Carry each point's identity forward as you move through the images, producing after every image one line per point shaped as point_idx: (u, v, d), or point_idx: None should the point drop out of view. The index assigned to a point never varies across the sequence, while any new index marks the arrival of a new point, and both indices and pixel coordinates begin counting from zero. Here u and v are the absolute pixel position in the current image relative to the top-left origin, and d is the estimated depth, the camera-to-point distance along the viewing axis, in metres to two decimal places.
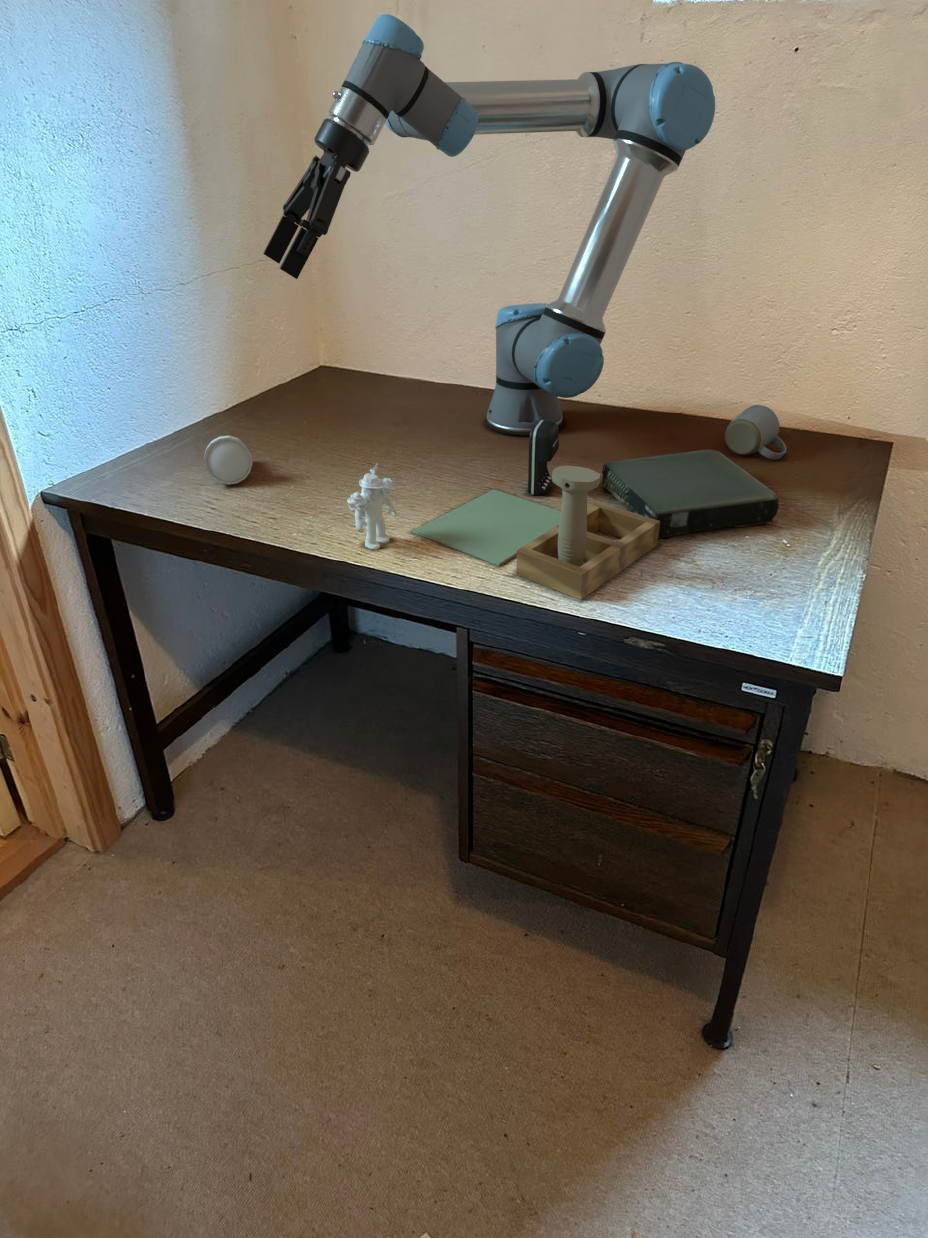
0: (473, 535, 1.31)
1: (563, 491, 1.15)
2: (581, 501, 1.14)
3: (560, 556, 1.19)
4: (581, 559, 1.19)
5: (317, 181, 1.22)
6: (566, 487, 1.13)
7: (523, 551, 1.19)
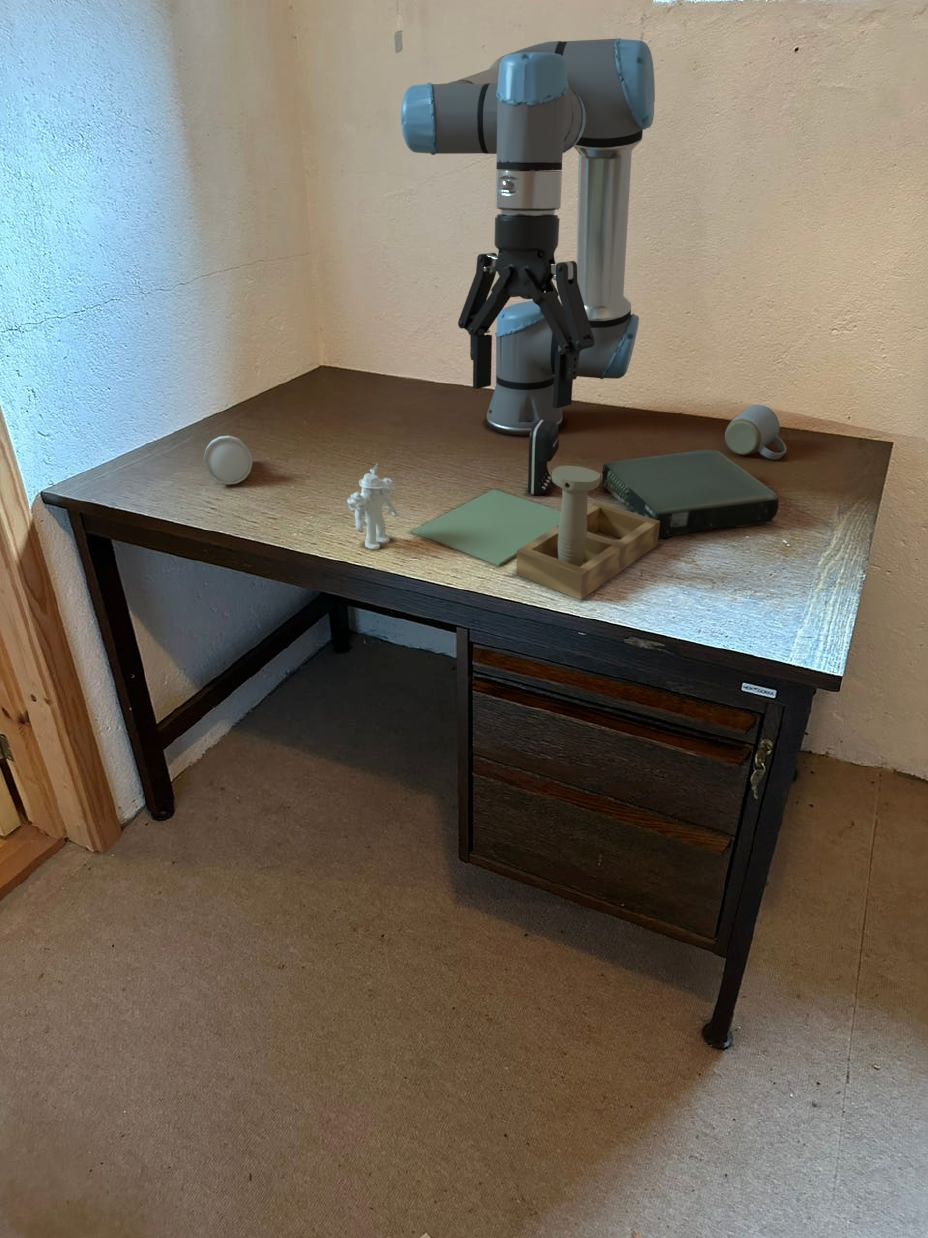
0: (473, 535, 1.31)
1: (563, 491, 1.15)
2: (581, 501, 1.14)
3: (560, 556, 1.19)
4: (581, 559, 1.19)
5: (539, 292, 1.00)
6: (566, 487, 1.13)
7: (523, 551, 1.19)
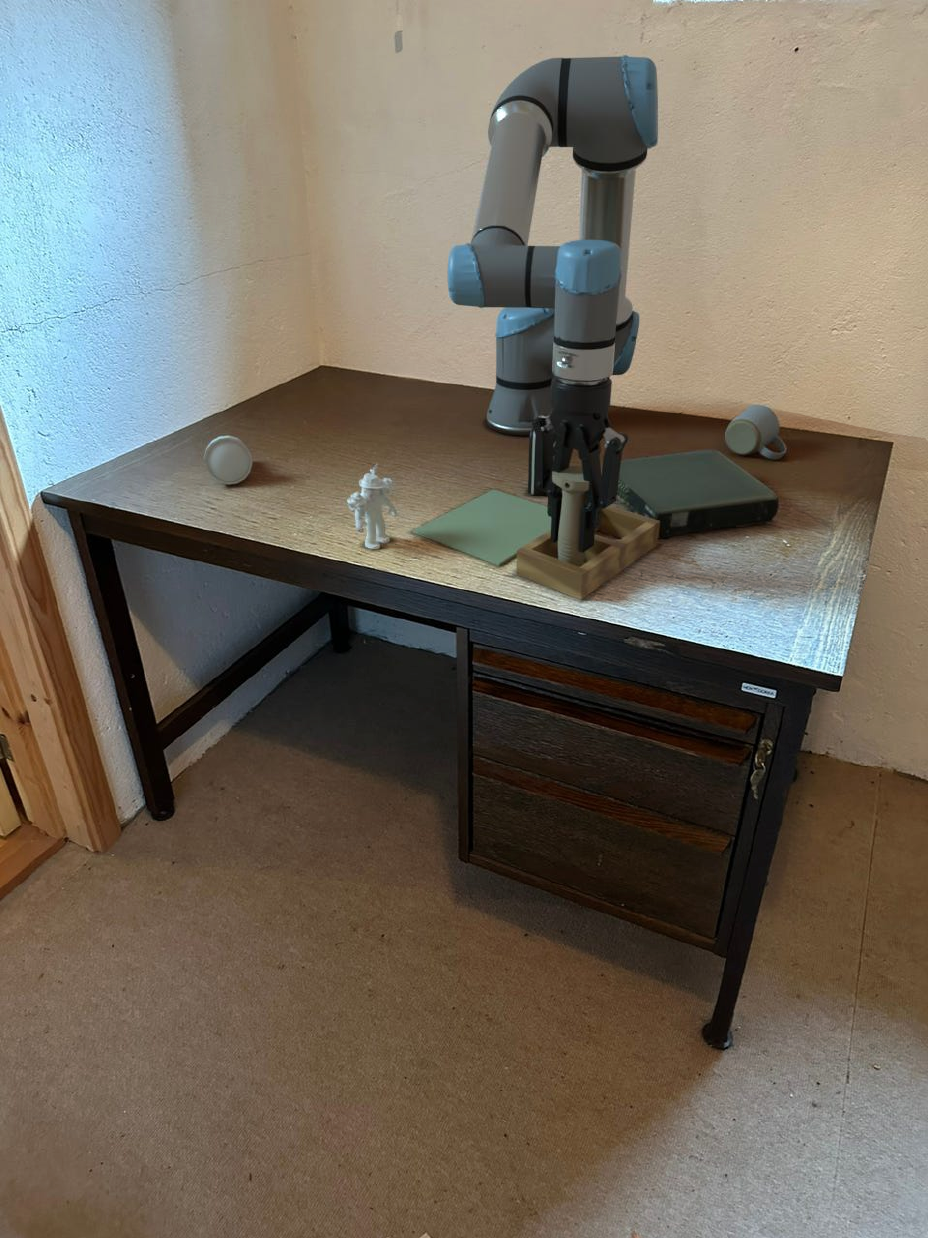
0: (473, 535, 1.31)
1: (563, 491, 1.15)
2: (581, 501, 1.14)
3: (560, 556, 1.19)
4: (581, 559, 1.19)
5: (586, 454, 1.09)
6: (566, 487, 1.13)
7: (523, 551, 1.19)
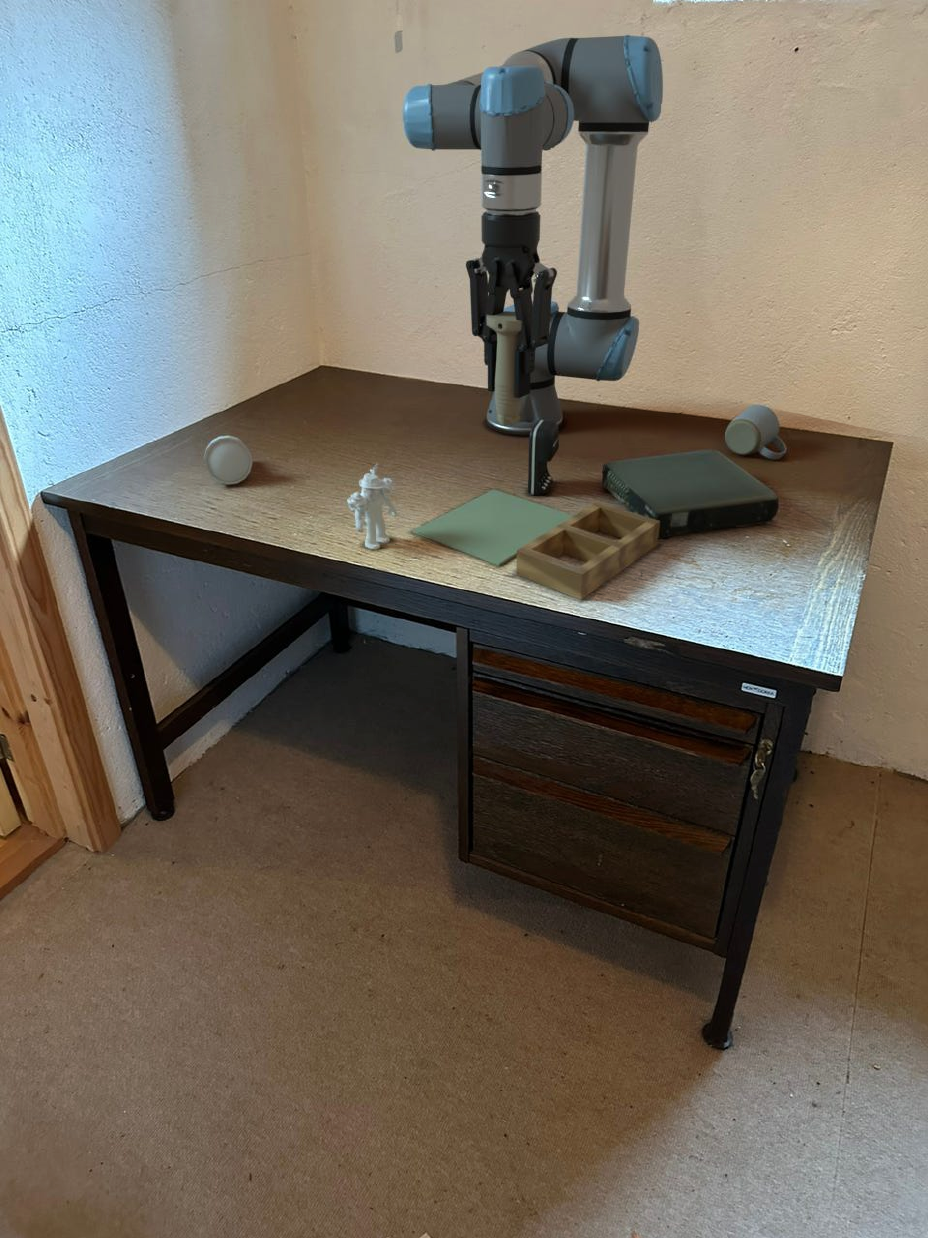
0: (473, 535, 1.31)
1: (497, 334, 1.16)
2: (515, 344, 1.16)
3: (497, 405, 1.21)
4: (518, 407, 1.21)
5: (517, 291, 1.11)
6: (499, 328, 1.14)
7: (523, 551, 1.19)
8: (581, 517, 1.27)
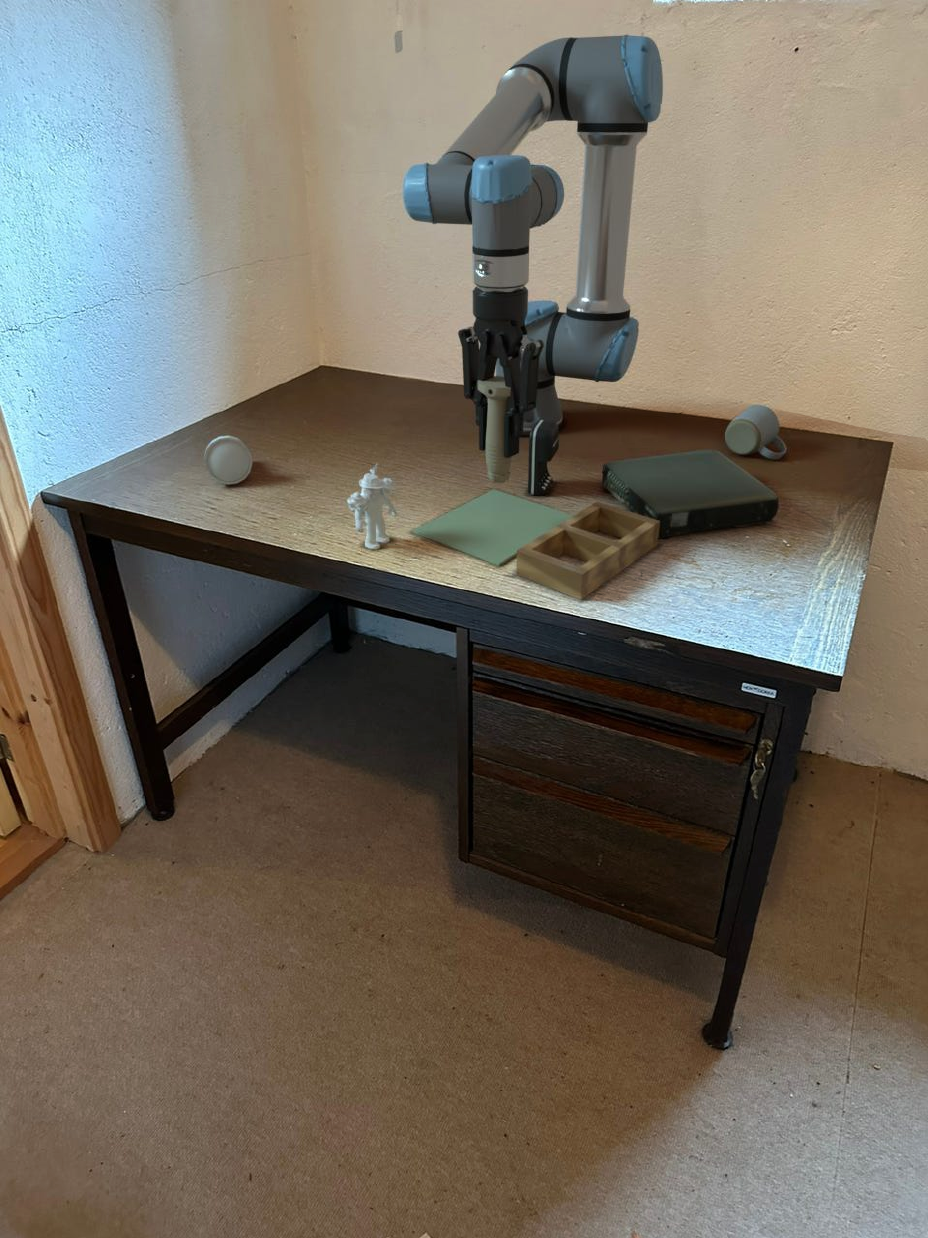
0: (473, 535, 1.31)
1: (488, 399, 1.23)
2: (504, 408, 1.22)
3: (488, 463, 1.28)
4: (507, 466, 1.27)
5: (506, 360, 1.18)
6: (490, 393, 1.21)
7: (523, 551, 1.19)
8: (581, 517, 1.27)
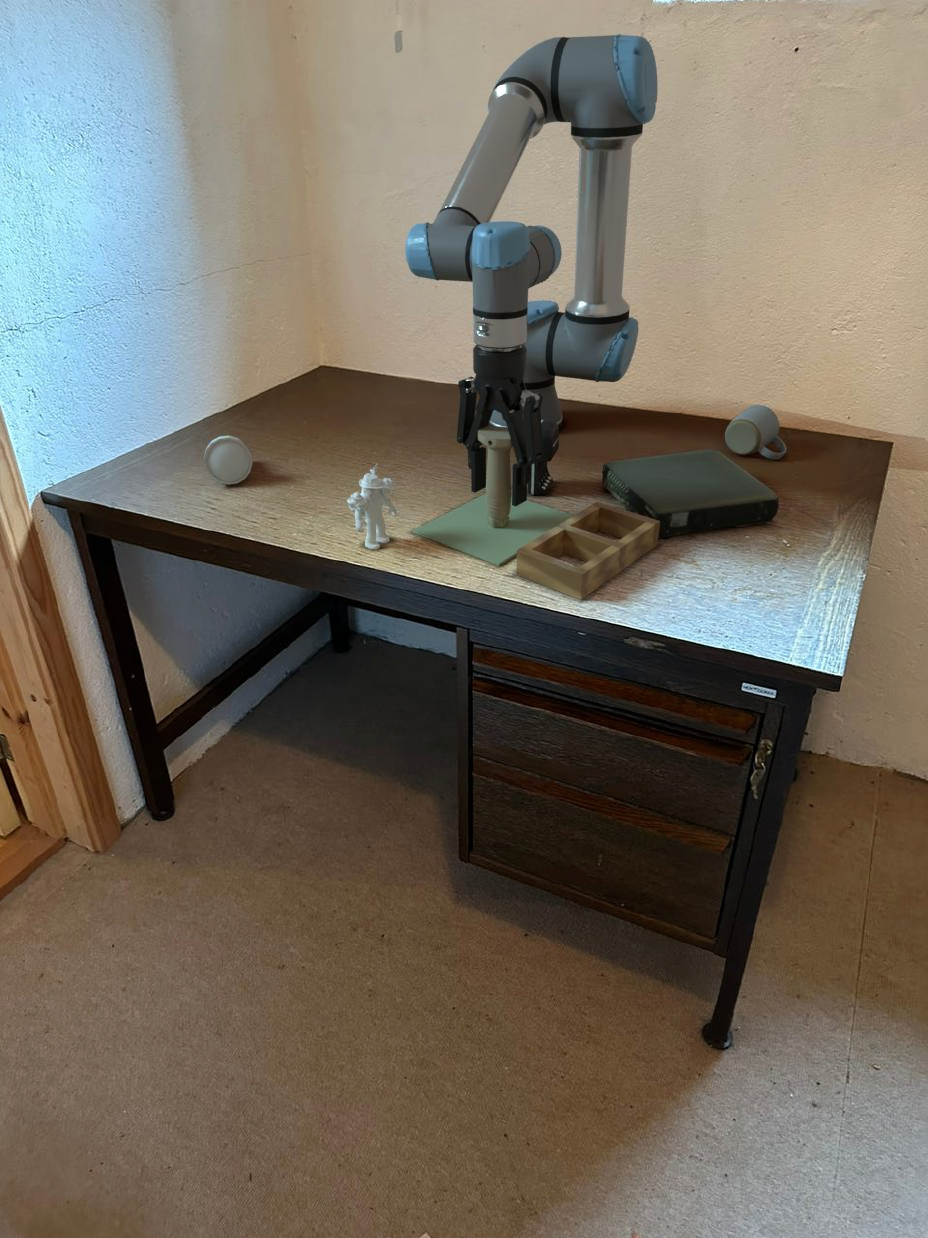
0: (473, 535, 1.31)
1: (488, 448, 1.27)
2: (503, 457, 1.26)
3: (488, 509, 1.32)
4: (507, 511, 1.31)
5: (508, 414, 1.21)
6: (489, 444, 1.25)
7: (523, 551, 1.19)
8: (581, 517, 1.27)
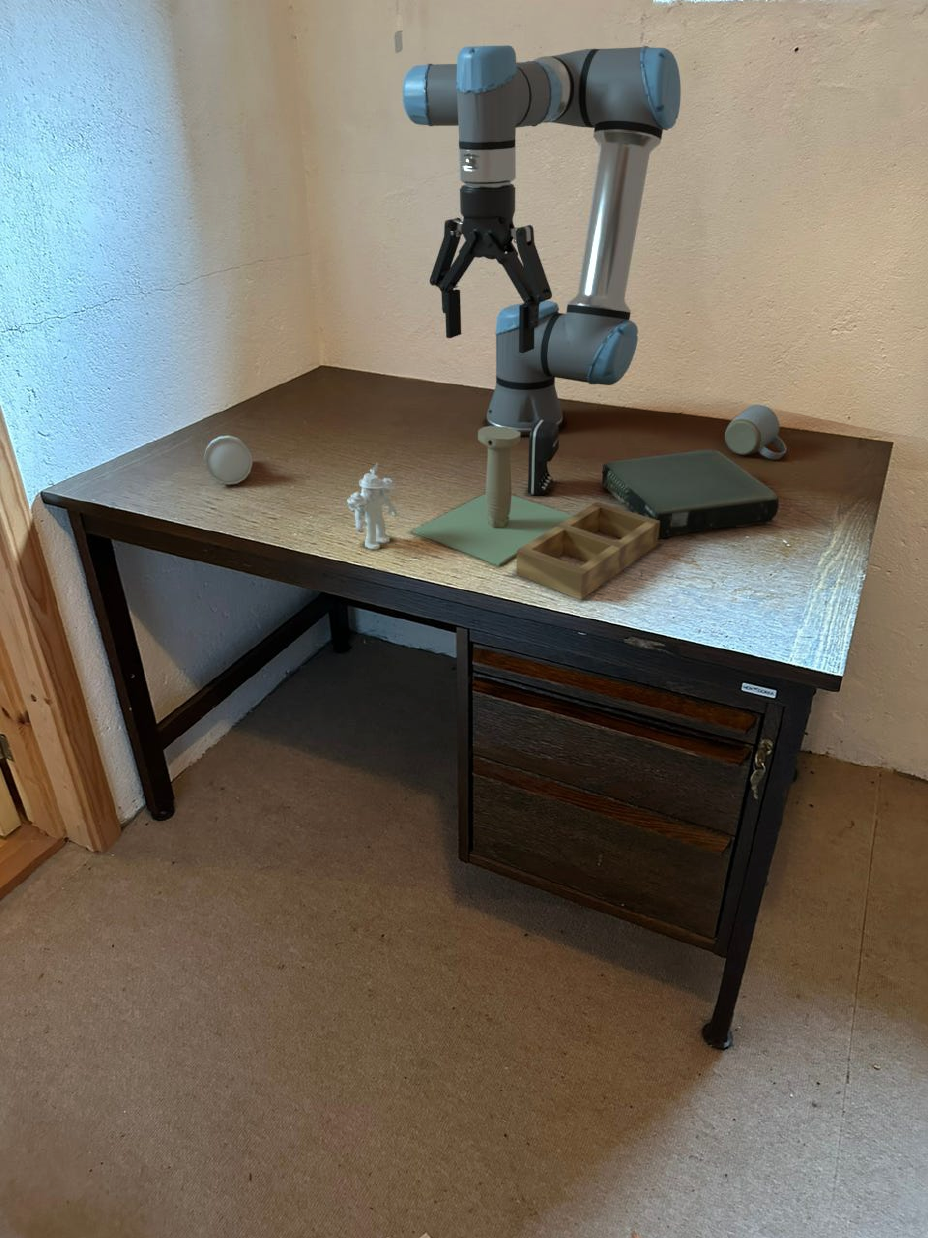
0: (473, 535, 1.31)
1: (488, 448, 1.27)
2: (503, 457, 1.26)
3: (488, 509, 1.32)
4: (507, 511, 1.31)
5: (502, 254, 1.16)
6: (489, 444, 1.25)
7: (523, 551, 1.19)
8: (581, 517, 1.27)
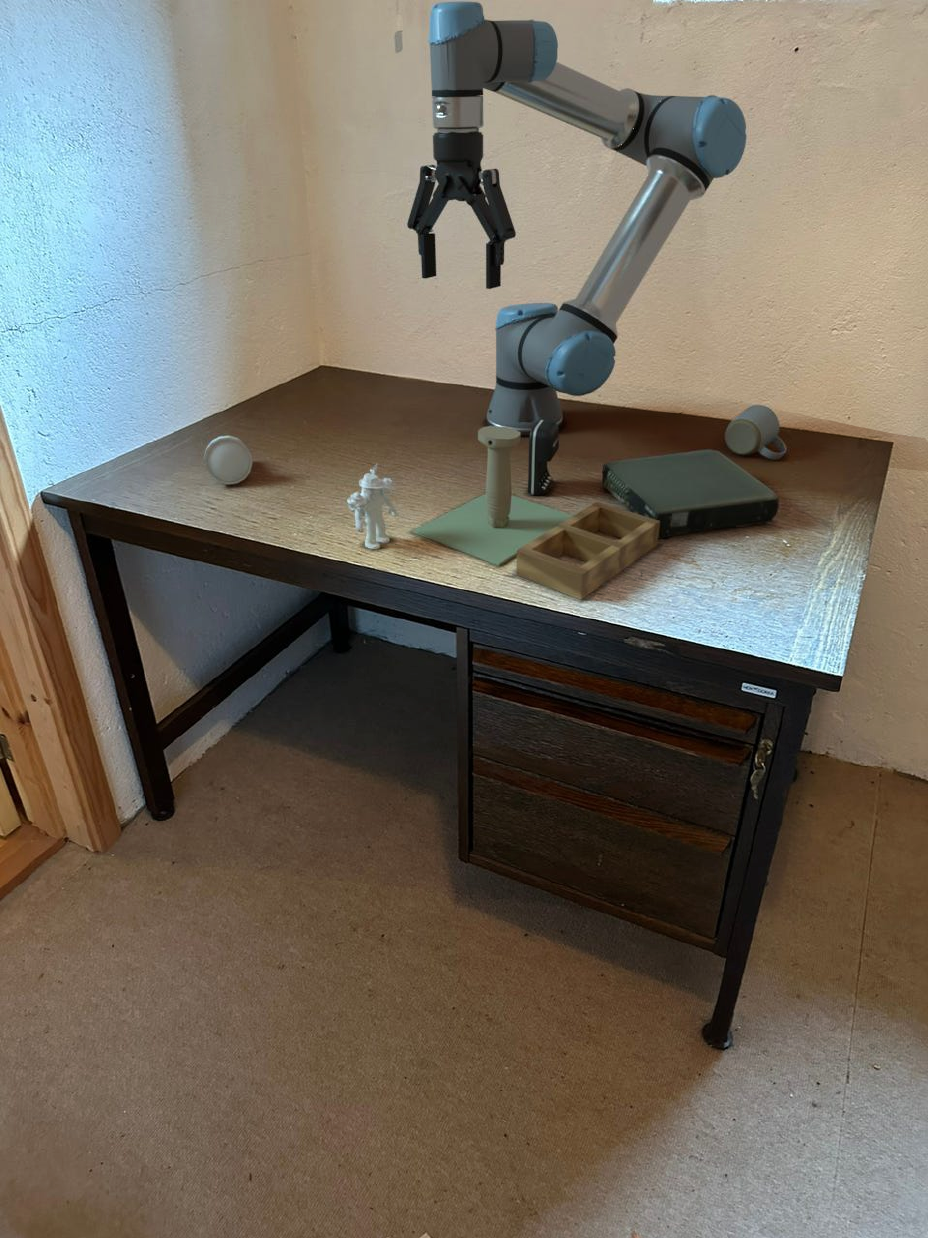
0: (473, 535, 1.31)
1: (488, 448, 1.27)
2: (503, 457, 1.26)
3: (488, 509, 1.32)
4: (507, 511, 1.31)
5: (470, 195, 1.28)
6: (489, 444, 1.25)
7: (523, 551, 1.19)
8: (581, 517, 1.27)
